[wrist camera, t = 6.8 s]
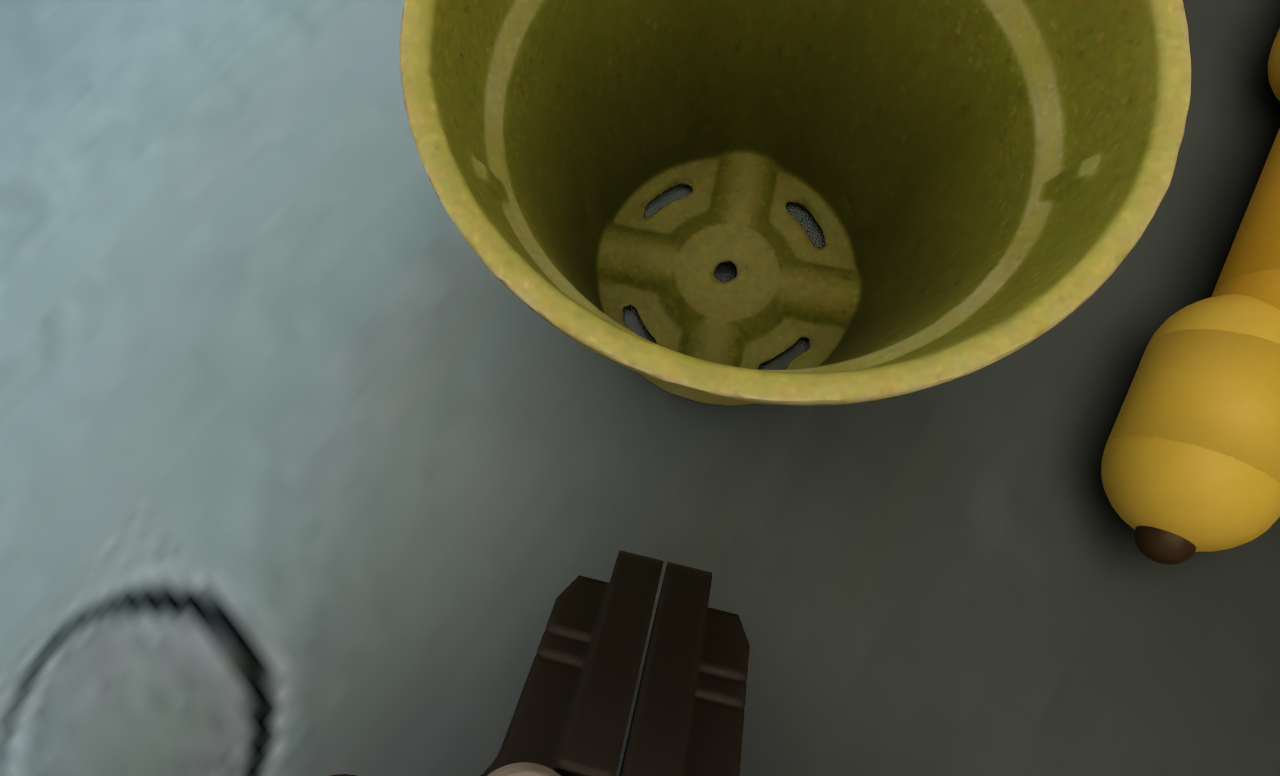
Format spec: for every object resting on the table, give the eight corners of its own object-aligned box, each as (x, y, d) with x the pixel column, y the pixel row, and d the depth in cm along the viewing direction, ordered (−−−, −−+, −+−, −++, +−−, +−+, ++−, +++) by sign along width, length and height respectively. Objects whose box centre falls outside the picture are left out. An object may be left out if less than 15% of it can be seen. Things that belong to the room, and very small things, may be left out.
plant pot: (763, 31, 19) (846, -400, 10) (1018, 319, 17) (1373, 87, 8) (451, 237, 18) (259, -49, 9) (686, 566, 16) (712, 583, 8)
